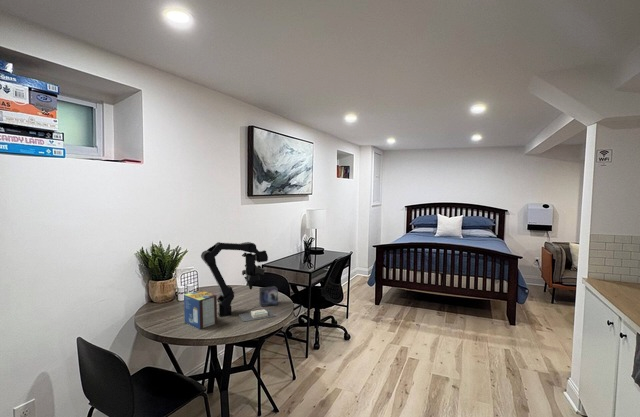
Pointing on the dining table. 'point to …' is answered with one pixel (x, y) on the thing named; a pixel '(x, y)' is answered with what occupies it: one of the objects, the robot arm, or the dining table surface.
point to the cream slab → (259, 313)
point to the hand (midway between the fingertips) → (250, 289)
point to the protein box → (200, 309)
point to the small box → (268, 296)
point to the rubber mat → (248, 317)
